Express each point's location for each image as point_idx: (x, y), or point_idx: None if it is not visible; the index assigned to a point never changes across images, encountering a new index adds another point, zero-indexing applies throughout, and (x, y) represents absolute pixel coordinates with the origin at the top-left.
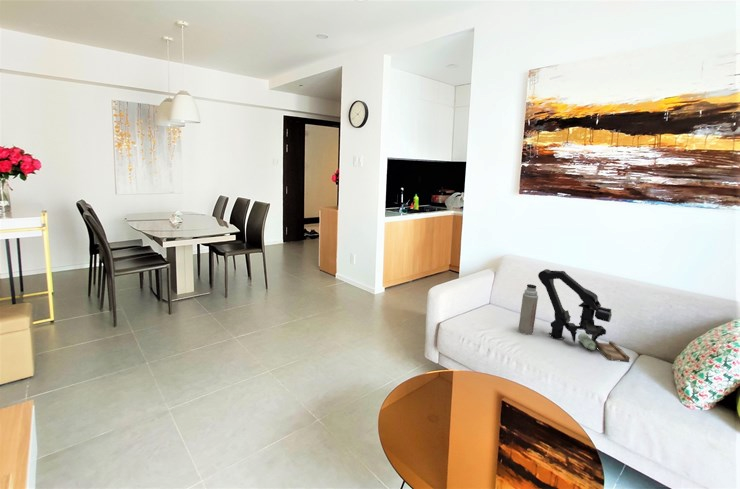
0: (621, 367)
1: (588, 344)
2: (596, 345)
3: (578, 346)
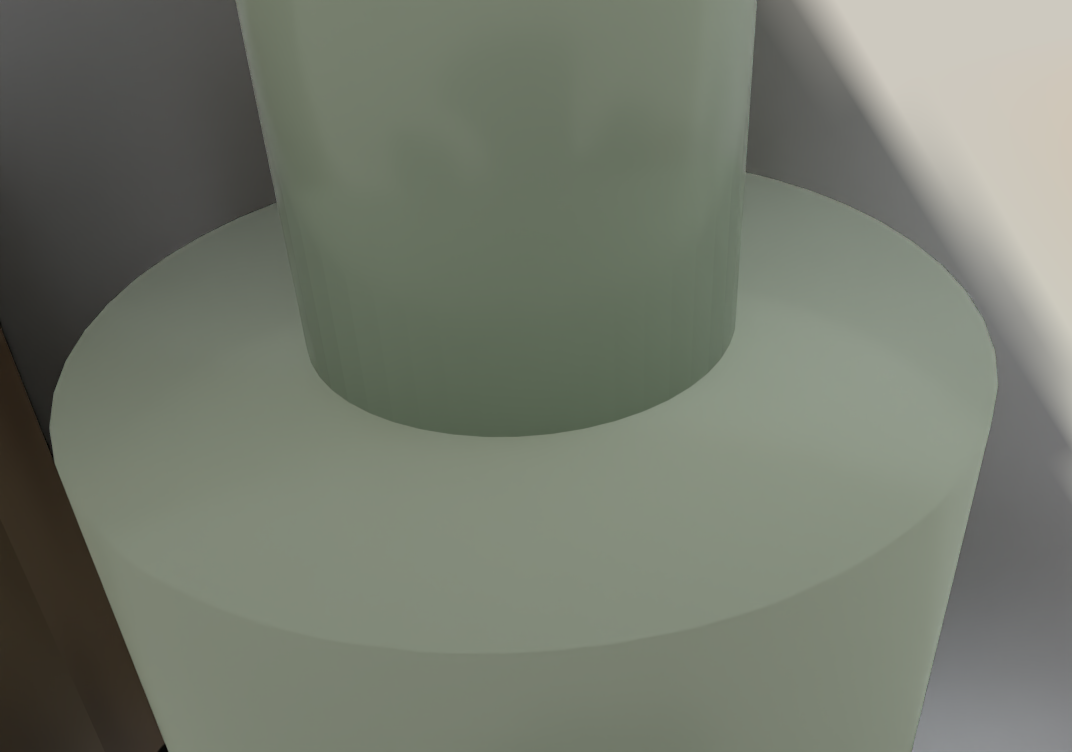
0: None
1: (732, 322)
2: (4, 601)
3: (1045, 397)
